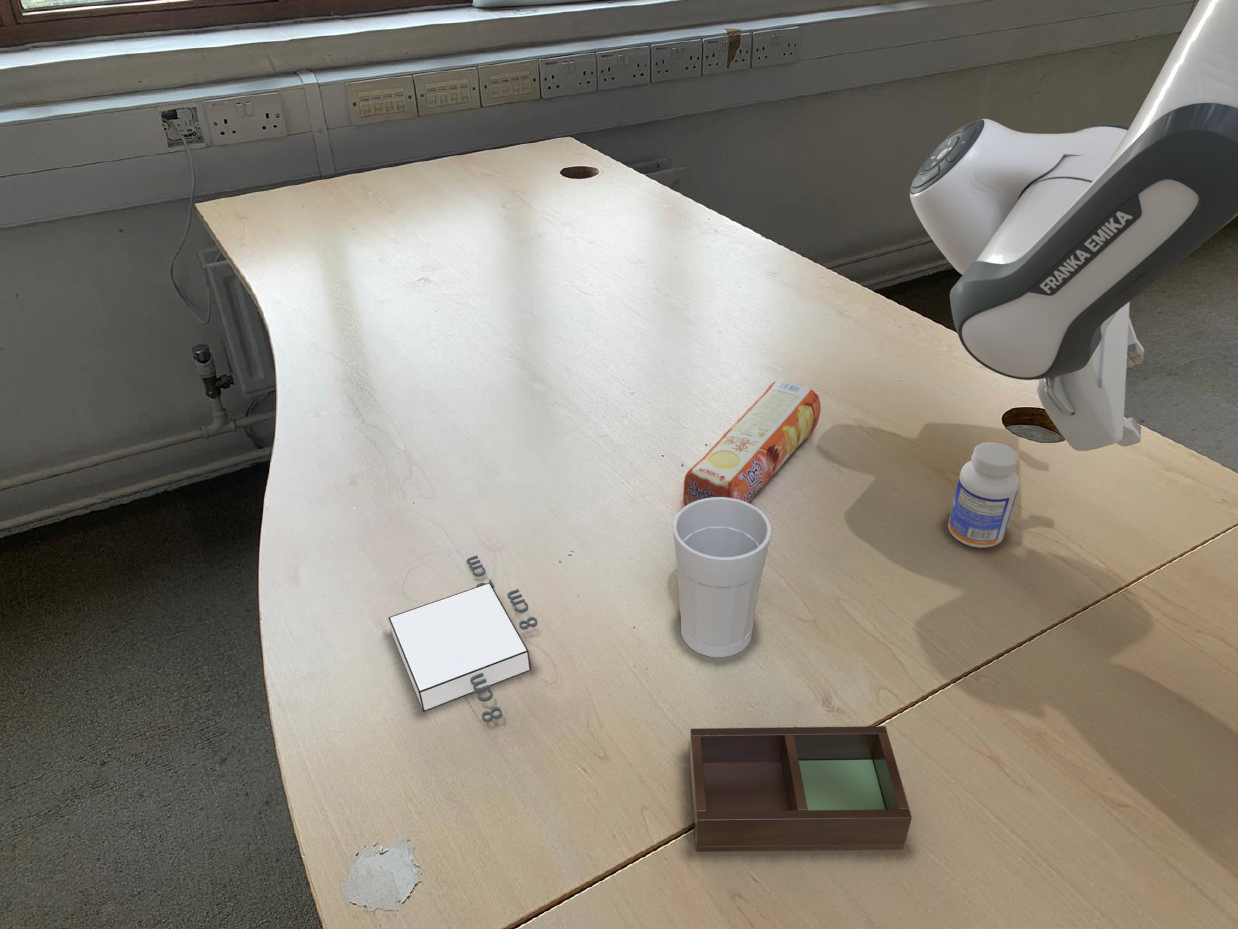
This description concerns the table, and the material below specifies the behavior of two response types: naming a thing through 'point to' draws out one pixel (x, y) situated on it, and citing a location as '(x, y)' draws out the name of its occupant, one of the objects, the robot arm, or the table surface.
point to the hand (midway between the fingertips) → (1133, 398)
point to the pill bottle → (985, 495)
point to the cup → (719, 572)
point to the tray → (796, 789)
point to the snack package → (755, 444)
